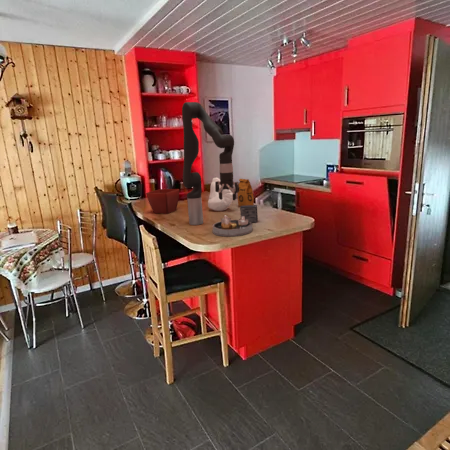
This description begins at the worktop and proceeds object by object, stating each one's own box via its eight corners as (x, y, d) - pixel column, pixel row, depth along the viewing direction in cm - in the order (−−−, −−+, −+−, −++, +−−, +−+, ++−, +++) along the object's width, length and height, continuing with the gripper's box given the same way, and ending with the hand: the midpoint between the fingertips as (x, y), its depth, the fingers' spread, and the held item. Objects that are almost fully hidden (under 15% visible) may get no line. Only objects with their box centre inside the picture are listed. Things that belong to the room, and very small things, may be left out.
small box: (258, 220, 221) (257, 204, 218) (257, 222, 215) (256, 206, 212) (241, 220, 223) (241, 205, 220) (240, 223, 216) (239, 207, 214)
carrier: (205, 231, 203) (204, 217, 201) (237, 224, 214) (236, 211, 212) (226, 239, 184) (225, 224, 182) (260, 231, 195) (259, 217, 193)
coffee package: (245, 209, 258) (244, 180, 253) (236, 206, 269) (234, 179, 263) (256, 207, 263) (254, 178, 258) (246, 205, 274) (245, 177, 268)
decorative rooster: (205, 209, 266) (202, 178, 260) (223, 206, 272) (221, 175, 266) (219, 215, 244) (216, 180, 238) (238, 211, 250) (236, 178, 244)
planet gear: (220, 232, 194) (219, 223, 193) (228, 230, 197) (228, 221, 196) (225, 234, 189) (225, 225, 188) (234, 232, 192) (234, 223, 191)
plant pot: (147, 214, 262) (145, 192, 258) (162, 209, 279) (159, 188, 275) (168, 215, 255) (166, 192, 250) (181, 209, 271) (179, 188, 267)
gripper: (240, 170, 191) (241, 199, 195) (218, 170, 197) (220, 197, 202) (234, 172, 184) (235, 201, 189) (212, 172, 191) (213, 200, 195)
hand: (227, 199), depth 195 cm, fingers open, 8 cm apart
